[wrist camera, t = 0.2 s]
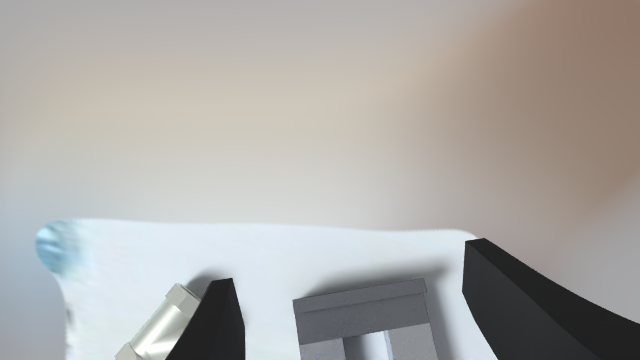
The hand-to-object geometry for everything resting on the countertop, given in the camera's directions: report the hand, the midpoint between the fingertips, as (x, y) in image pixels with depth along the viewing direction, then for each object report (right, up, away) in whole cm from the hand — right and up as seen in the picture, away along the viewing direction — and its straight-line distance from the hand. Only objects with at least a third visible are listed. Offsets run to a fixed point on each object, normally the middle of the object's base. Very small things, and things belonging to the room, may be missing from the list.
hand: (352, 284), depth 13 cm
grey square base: (+3, -13, +28) cm, 31 cm away
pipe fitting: (-14, -12, +28) cm, 34 cm away
